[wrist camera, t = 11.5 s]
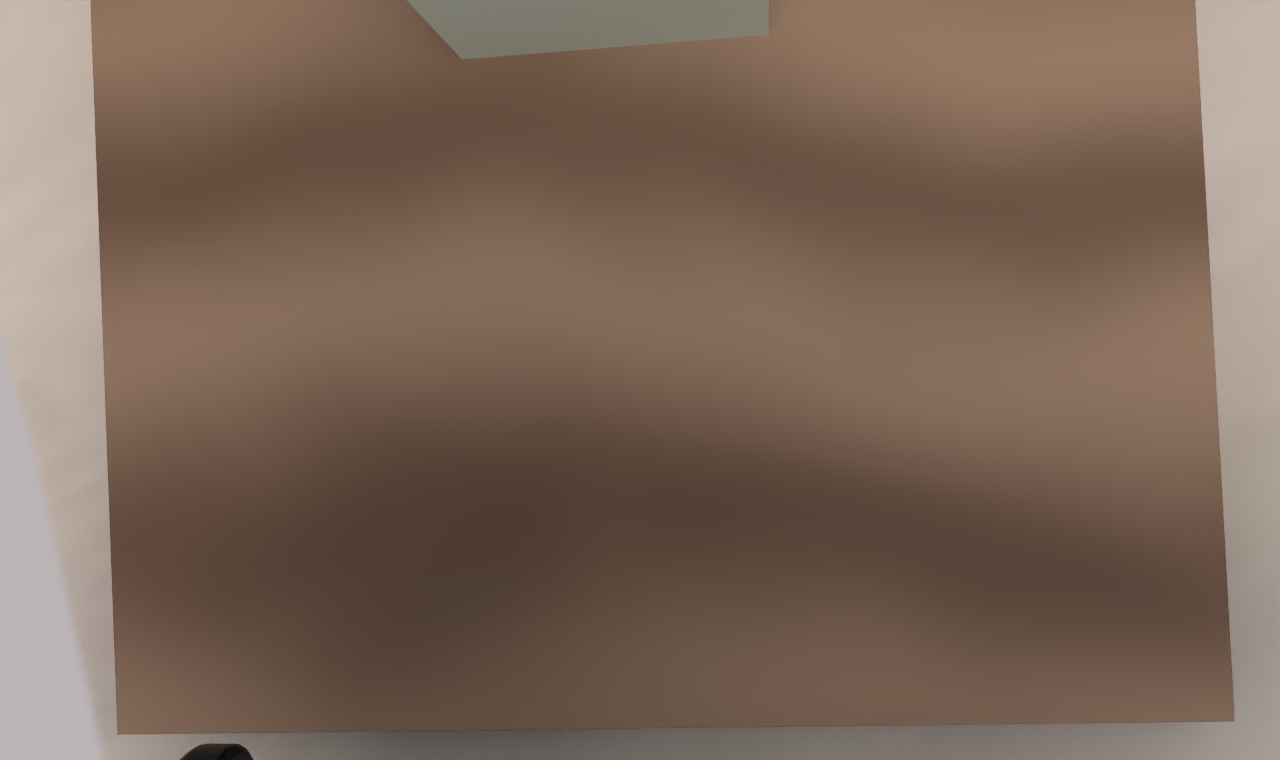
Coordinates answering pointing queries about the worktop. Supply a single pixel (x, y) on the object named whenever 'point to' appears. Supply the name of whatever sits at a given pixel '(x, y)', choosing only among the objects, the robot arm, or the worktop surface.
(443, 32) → the pale green lidded box
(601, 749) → the worktop surface
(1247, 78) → the worktop surface
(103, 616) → the worktop surface
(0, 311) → the worktop surface
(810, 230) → the dock
